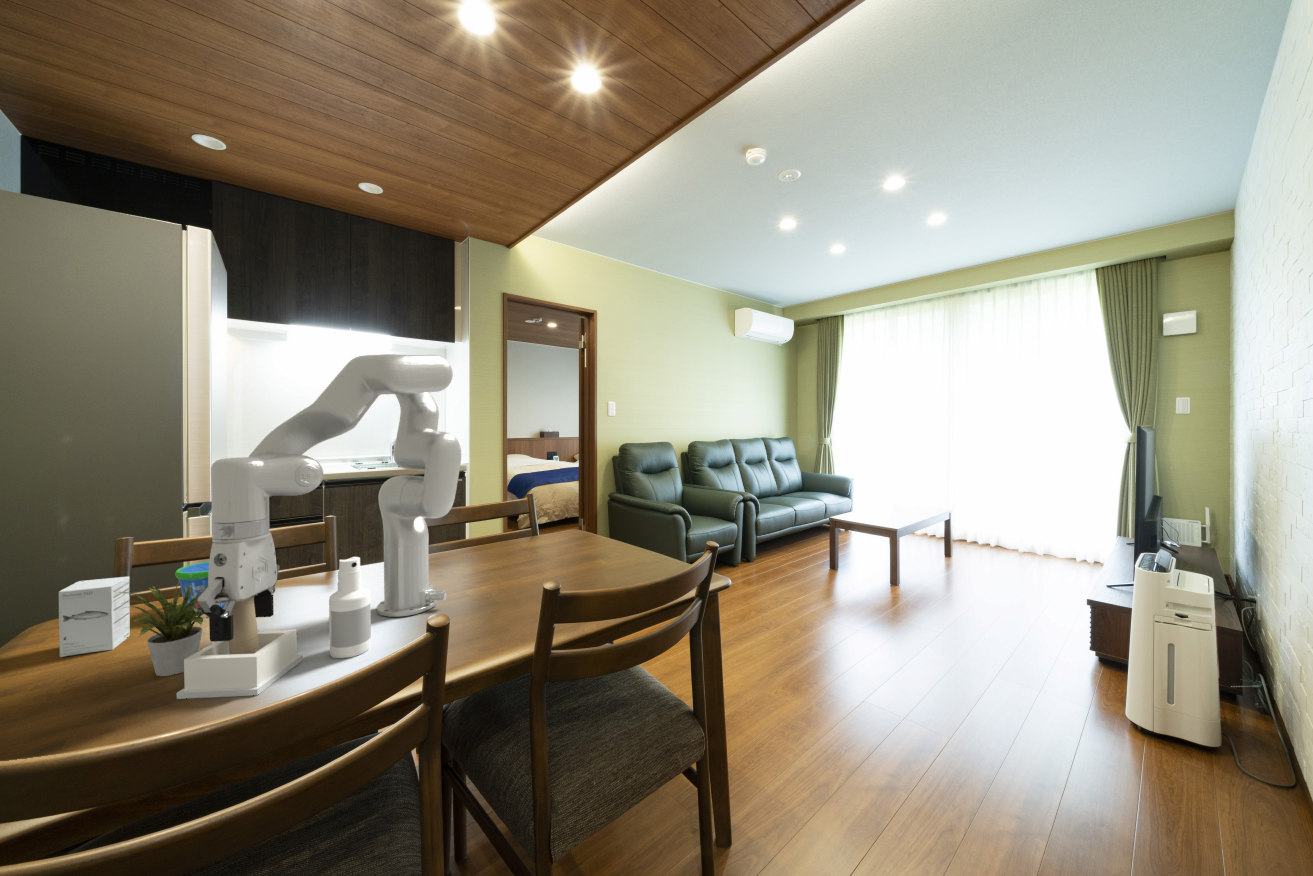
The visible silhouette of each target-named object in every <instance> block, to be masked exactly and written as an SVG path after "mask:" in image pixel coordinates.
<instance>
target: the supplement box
mask: <svg viewBox="0 0 1313 876" xmlns="http://www.w3.org/2000/svg"><path fill="white" fill-rule="evenodd" d="M130 577H131V576H120V577H109V578H108V577H107V578H99V579H98V578H97V579H89V580H87V579H86V580H79V581H76V582H74V583H73V584H70V585H69V586H67V587H65V588H63V589H61V590H60V591H58V624H59V625H58V626H59V627H58V630H59V633H58V634H59V639H58V641H59V657H60V658H63V657H68V656H75V655H81V654H89V653H97V652H103V651H104V652H105V651H112V650H114V649H115V648H117V647H118V646H119V645H121V644H122V643H123V642H124V641H126V640H127V639H128V638H129V637H130V635H131V634H130V633H131V632H130V628H131V627H130V626H131V625H130V624H131V623H130V620H131V616H130V608H131V607H130V606H131V605H130V603H131V602H130V594H129V593H130V579H131V578H130ZM118 592H128V593H118ZM125 602H127V603H125ZM121 603H122V604H121ZM125 607H126V608H125ZM127 627H128V628H127ZM127 637H128V638H127Z"/></svg>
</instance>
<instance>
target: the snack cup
mask: <svg viewBox="0 0 1313 876" xmlns="http://www.w3.org/2000/svg"><path fill="white" fill-rule="evenodd" d="M208 573H209V561H204V562H198V563H194V564H188V565H186V566H182V567H180V568H178V569H177V570H176V571H175V573H174V576H175V577H176V578H177V580H178V582H179V581H180V582H179V586H180V591H181V590H182V589H183V590H182V591H181V595H182V601H183V600H184V596H185V593H186V591H187V589H188V586H189V584H190V583H191V593H190V597H189V599H188V601H187V605H188V603H189V602H190V601H191V600H192V599H194V598H195V597H196V596H198V595H199V594H200V593H201V592H202V591H203V590H204V589H205V588H206V587H208ZM182 577H183V578H182ZM181 578H182V579H181ZM180 579H181V580H180ZM186 586H187V587H186ZM225 604H226V603H220V605H219V606H220V607H221V608H224V606H225ZM187 605H186V606H187ZM194 608H196V609H197V608H200V605H199V603H198V602H197V603H196V604H195V606H194V607H193V609H194ZM193 609H192V610H193ZM192 610H191V611H192ZM201 613H202V610H200V612H199V613H198V614H199V615H200V614H201ZM198 614H197V615H198Z"/></svg>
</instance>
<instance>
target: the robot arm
mask: <svg viewBox="0 0 1313 876" xmlns="http://www.w3.org/2000/svg"><path fill="white" fill-rule="evenodd" d="M452 380H453V369H452V366H451V363H450V362H449V361H448V360H447V359H446V358H444V357H443V356H441V355H439V354H438V355H436V354H396V353H395V354H393V353H392V354H389V353H388V354H387V353H385V354H384V353H383V354H368V355H367V354H366V355H360V356H359V355H358V356H356V357H354V358H352V359H351V360H349V361H348V362H347V364H345V366H343V368H342V369H341V370H340V371H339V373H338V374H337V375H335V377H334V379H332V381H331V382H330V383H329V384H328V386H327V387H326V388H325V389H324V391H323V392H322V393H320V394H319V396H318V397H317V398H316V399H315V400H314V401H313V403H311V404H310V405H309V406H307V407H305V408H303V409H302V410H300V411H298V412H297V413H296V414H295V415H293V416H291V417H289V419H287V420H285V421H284V422H282V423H281V424H279V425H277V426H276V427H275V428H274V429H273V430H272V431H270V432H269V433H268V434H267V435H266V436H265V437H264V438H263V439H262V440H261V441H260V443H258V445H257V446H256V447H255V448H254V449H253V451H252V452H251V453H250V454H249V455H248V456H247V457H246V456H245V457H244V456H243V457H228V458H227V457H226V458H220V459H217V460H215V461H214V462H213V463H212V464H211V467H210V487H211V490H210V492H211V493H210V494H211V496H210V497H211V530H212V531H211V533H212V534H211V537H212V543H211V549H210V556H209V561H208V562H209V573H208V588H207V589H206V590H205V591H204V592H203V593H202V594H201V595H200V596H199V598H198V603H199V605H200V607H201V608H202V612H203V613H204V614H203V615H205V617H206V619H208V621H209V622H208V624H209V625H208V626H209V641H210V642H216V641H230V640H232V639H233V637H234V635H233V615H230V613H231V610H232V608H233V606H234V604H235V602H236V601H244V600H246V599H249V598H251V597H253V596H254V607H255V615H256V618H271V617H273V616H274V593H276V587H275V586H276V584H277V582H278V574H279V571H280V565H279V564H277V557H276V550H275V549H276V548H275V543H274V538H273V536H272V533H271V531H270V530H271V529H270V497H272V496H301V495H305V494H309V493H310V492H312V491H314V490H316V488H317V487H319V486H320V484H321V483H322V481H323V479H324V469H323V467H322V465H321V463H320V462H319V461H317V460H316V459H314V458H313V457H310V456H308V455H305V453H306V452H307V451H309V450H310V449H311V448H313V447H315V446H317V445H318V444H321V443H324V441H328V440H330V439H333V438H336V437H339V436H342V435H343V434H346V433H348V432H350V431H351V430H353V429H354V428H356V427H357V425H358V424H359V422H360V421H361V420H362V418H364V415H366V413H367V412H368V410H369V409H371V407H372V405H373V404H374V403H375V402H376V401H377V399H378V398H379V397H380V396H381V395H394V396H395V397H396V398H397V401H398V403H399V409H400V415H399V423H398V427H397V428H398V429H397V432H396V438H395V442H394V449H393V450H394V451H393V460H394V462H395V464H396V465H397V466H398V467H399V468H402V469H404V470H409V471H420V472H421V471H422V472H424V476H420V475H403V474H402V475H397V476H393V477H389V479H386V481H384V482H383V483H382V485H381V487H380V489H379V492H378V506H379V510H380V515H381V520H382V528H383V580H384V581H383V583H384V585H383V586H384V587H383V589H384V591H383V593H384V594H383V595H384V596H383V597H384V598H383V601H381V602H379V604H377V606H376V613H377V614H379V615H380V616H382V617H388V618H389V617H390V618H396V617H397V618H398V617H408V616H412V615H418V614H421V613H425V612H426V611H429V610H430V609H432V608H434V606H435V605H436V603H437V601H438V602H439V601H446V600H447V596H448V595H447V591H445V589H437V590H436V589H434V584H433V583H430V580H429V579H430V578H429V574H430V573H429V567H430V566H429V565H430V564H429V562H430V561H429V541H430V540H429V538H430V537H429V529H428V525H427V522H426V519H441V518H443V517H445V516H446V515H448V513H449V512H450V511H451V509H452V508H453V506H454V503H455V500H456V494H457V490H458V489H457V488H458V482H459V476H460V470H461V469H460V468H461V464H462V463H461V462H462V448H461V445H460V442H459V440H458V439H457V437H456V436H454V435H453V434H452V433H450V432H447V431H438V425H439V419H440V412H439V407H438V404H437V402H436V400H435V398H434V397H433V395H432V393H435V392H436V393H437V392H441V391H444V390H445V389H447V388H448V387H449V385H450V384H451V382H452ZM225 594H228V596H229V597H223V595H225ZM220 603H226V604H225V606H224V607H223V608H221V607H220V606H219V605H220ZM229 615H230V616H229Z"/></svg>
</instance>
